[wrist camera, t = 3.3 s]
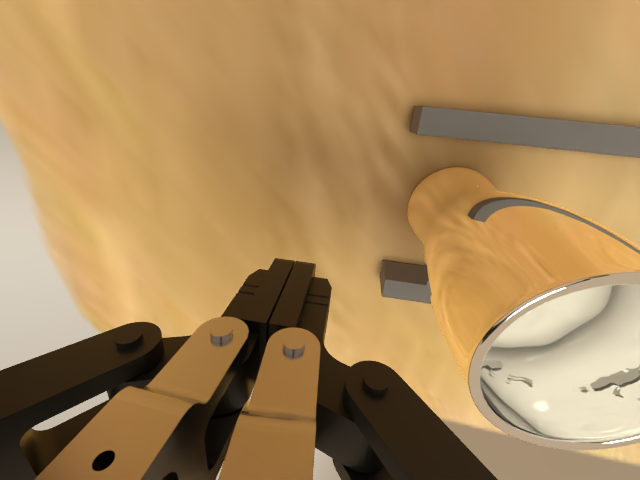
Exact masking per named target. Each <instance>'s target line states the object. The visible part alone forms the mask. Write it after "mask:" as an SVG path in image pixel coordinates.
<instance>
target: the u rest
mask: <svg viewBox="0 0 640 480" xmlns="http://www.w3.org/2000/svg"><path fill="white" fill-rule="evenodd" d="M410 131H411V132H413V133H415V134H418V135H428V136H437V137H447V138H456V139H466V140H475V141H485V142H494V143H504V144H513V145H523V146H532V147H542V148H551V149H561V150H570V151H580V152H589V153H599V154H608V155H618V156H627V157H637V158H640V127H631V126H621V125H610V124H600V123H590V122H580V121H569V120H559V119H549V118H539V117H528V116H518V115H508V114H497V113H487V112H477V111H467V110H456V109H446V108H436V107H426V106H414V111H413V116H412V121H411V126H410ZM380 283H381V293H382V296H383V297H389V298H396V299H402V300H409V301H416V302H422V303H429V304H432V303H431V300H430V297H429V293H428V289H427V283H426V276H425V266H421V265H414V264H407V263H400V262H393V261H386V260H383V262H382V267H381V272H380Z"/></svg>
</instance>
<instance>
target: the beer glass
mask: <svg viewBox="0 0 640 480" xmlns="http://www.w3.org/2000/svg"><path fill="white" fill-rule="evenodd" d="M407 215H408V221H409V224H410V226H411V228H412V230H413V232H414V233H415V234H416V236H417V237H418V238H419V239H420V240H421V241H423V242H424V266H425V276H426V283H427V289H428V293H429V297H430V300H431V303H432V307H433V310H434V313H435V316H436V318H437V321H438V323H439V326H440V328H441V331H442V333H443V336H444V338H445V340H446V342H447V344H448V346H449V349H450V351H451V353H452V355H453V357H454V359H455V361H456V363H457V365H458V367H459V369H460V371H461V373H462V375H463V377H464V379H465V381H466V383H467V385H468V387H469V390H470V394H471V397H472V399H473V401H474V403H475V405H476V406H477V408H478V409H479V411H480V412H481V413H482V415H483V416H484V417H485V418H486V419H487V420H488V421H489V422H491V423H492V424H493V425H494V426H496V427H497V428H499V429H500V430H502V431H503V432H505V433H507V434H509V435H511V436H513V437H515V438H517V439H520V440H523V441H526V442H528V443H532V444H535V445H540V446H544V447H550V448H556V449H566V450H597V449H608V448H615V447H621V446H627V445H631V444H636V443H640V247H639V246H638V245H636V244H635V243H633V242H631V241H630V240H628V239H626V238H625V237H623V236H621V235H620V234H618V233H616V232H614V231H612V230H610V229H608V228H607V227H605V226H603V225H601V224H599V223H597V222H595V221H594V220H592V219H590V218H588V217H585V216H583V215H581V214H578V213H576V212H574V211H571V210H569V209H567V208H565V207H562V206H560V205H557V204H554V203H550V202H547V201H543V200H540V199H536V198H533V197H529V196H524V195H519V194H513V193H508V192H502V191H497V190H495V188H494V187H493V185H492V184H491V183H490V181H489V180H488V179H487V178H486V177H484V176H483V175H482V174H480V173H479V172H477V171H474V170H472V169H469V168H463V167H451V168H445V169H442V170H439V171H436V172H434V173H432V174H431V175H429V176H427V177H426V178H425V179H424V180H422V181H421V182H420V183H419V184H418V186H417V187H416V188H415V190H414V191H413V193H412V195H411V197H410V200H409V203H408V209H407Z"/></svg>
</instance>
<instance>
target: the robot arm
mask: <svg viewBox="0 0 640 480" xmlns="http://www.w3.org/2000/svg"><path fill="white" fill-rule="evenodd" d="M315 268H316V264H313V263H306V262H299V261H296V262H295V261H292V260H285V259H278V258H275V260H274V261H273V263H272V265H271V266H270V268H269V270H262V269H259V270H257V271H256V272H254V273H252V274H251V275H249V276H248V278H247V279H246V281H245V282H244V284H243V286H242V287H241V288H240V290H239V292H238V293H237V294H236V296H235V297H234V298H233V300H232V301H231V303H230V304H229V306H228V307H227V309H226V310H225V312H224V313H223V315H222V316H221V317H218V318H214V319H211V320H209V321H207V322H205V323H203V324H202V325H201V326H200V327H199V328H198V329H197V330H196V331H195V332H194V333H193V334H192V335H191V336H183V337H170V338H162V334H161V330H160V328H159V327H158V326H156V325H155V324H152V323H148V322H135V323H130V324H126V325H123V326H120V327H117V328H115V329H112V330H109V331H106V332H104V333H101V334H98V335H96V336H93V337H90V338H88V339H85V340H82V341H79V342H77V343H74V344H72V345H68V346H66V347H63V348H60V349H58V350H55V351H52V352H50V353H47V354H44V355H41V356H39V357H36V358H33V359H31V360H28V361H25V362H22V363H20V364H17V365H14V366H12V367H9V368H6V369H3V370H1V371H0V480H216V477H217V475H218V473H219V471H220V468H221V466H222V464H223V466H222V469H221V473H220V476H219V479H218V480H313V466H314V450H315V448H317V449H319V450H320V451H322V452H323V453H325V454H327V455H328V456H330V457H332V458H333V463H334V466H335V468H336V471H337V472H338V474H339V476H340V478H341V480H497V479H496V477H495V476H494V475H493V474H492V473H491V472H490V471H489V470H488V469H487V468H486V467H485V466H484V465H483V464H482V463H481V462H480V461H479V459H477V457H476V456H475V455H474V454H473V453H472V452H471V451H470V450H469V449H468V448H467V447H466V446H465V445H464V444H463V443H462V442H461V441H460V439H459V438H458V437H457V436H456V435H455V434H454V433H453V432H452V431H451V430H450V429H449V428H448V427H447V426H446V425H445V424H444V423H443V421H442V420H441V419H440V418H439V417H438V416H437V415H436V414H435V413H434V412H433V411H432V410H431V409H430V408H429V407H428V406H427V405H426V404H425V402H424V401H423V400H422V399H421V398H420V397H419V396H418V395H417V394H416V393H415V392H414V391H413V390H412V389H411V388H410V387H409V386H408V385H407V383H406V382H405V381H404V380H403V379H402V378H401V377H400V376H399V375H398V374H397V373H396V372H395V371H394V370H393V369H391V368H390V367H388V366H386V365H385V364H382V363H380V362H376V361H361V362H358V363H356V364H354V365H353V366H351V367H350V366H348V365H345V364H343V363H341V362H339V361H337V360H336V359H335V358H333V357H332V356H331V355H330V354H329V353H328V351H327V350H326V348H325V346H324V339H325V333H326V327H327V320H328V312H329V304H330V297H331V289H332V287H331V285H330V283H329V281H328V279H324V278H317V277H315ZM254 385H255V386H254ZM253 388H254V389H253ZM252 390H253V393H252ZM105 391H107V393H108V396H109V400H108V401H105V402H103V403H101V404H100V405H97V406H95V407H93V408H91V409H90V410H87V411H86V412H83V413H81V414H79V415H77V416H75V417H74V418H71V419H69V420H67V421H66V422H64V423H61V424H59V425H57V426H56V427H53V428H51V429H48V430H43V431H36V430H33V429H32V427H33V426H35V425H37V424H39V423H40V422H43V421H45V420H47V419H49V418H51V417H53V416H55V415H57V414H59V413H61V412H63V411H66V410H68V409H70V408H72V407H74V406H76V405H78V404H80V403H82V402H84V401H86V400H88V399H91V398H93V397H95V396H97V395H99V394H101V393H103V392H105ZM251 393H252V396H251V399H249V398H250V395H251ZM223 462H224V463H223Z"/></svg>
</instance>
